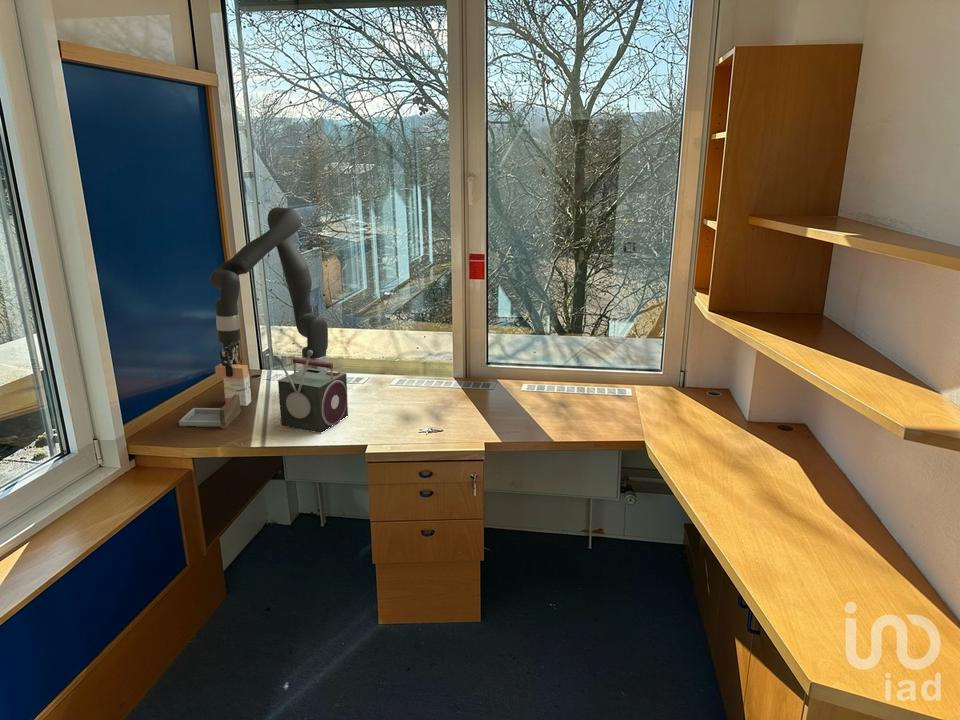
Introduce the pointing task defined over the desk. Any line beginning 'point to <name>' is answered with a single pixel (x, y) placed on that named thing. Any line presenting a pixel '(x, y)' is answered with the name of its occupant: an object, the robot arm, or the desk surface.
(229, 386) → the ink cartridge box
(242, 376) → the bar
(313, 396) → the boombox
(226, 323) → the robot arm
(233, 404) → the board
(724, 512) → the desk surface
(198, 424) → the tray
